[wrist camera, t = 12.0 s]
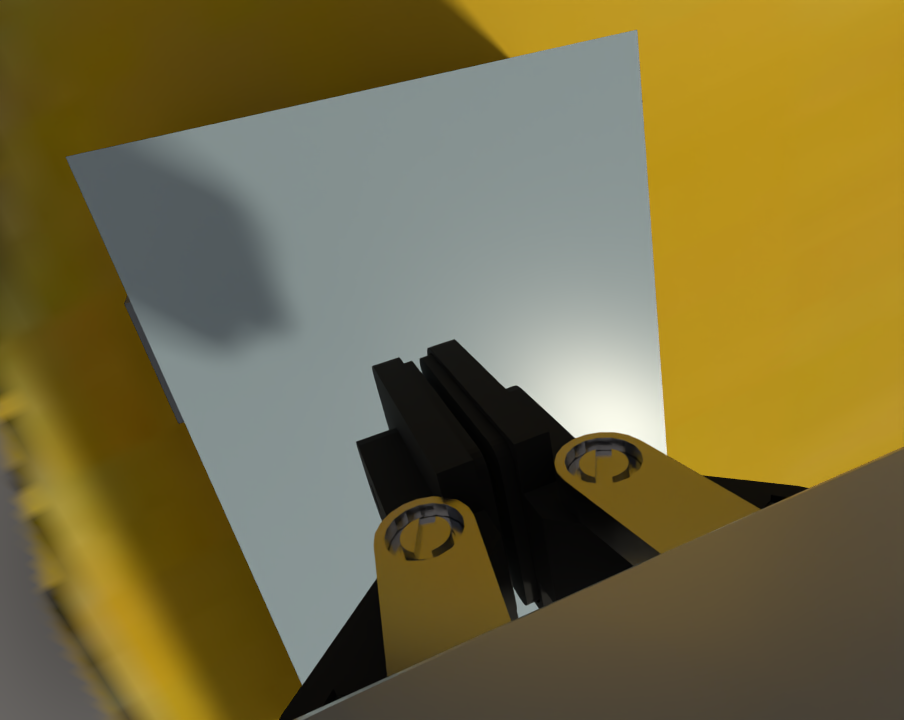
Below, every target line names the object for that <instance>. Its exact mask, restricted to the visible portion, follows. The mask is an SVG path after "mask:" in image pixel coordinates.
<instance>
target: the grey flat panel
mask: <svg viewBox="0 0 904 720" xmlns="http://www.w3.org/2000/svg"><path fill="white" fill-rule="evenodd" d="M66 159H67V161H68V163H69V165H70V168H71V170H72V172H73V174H74V177H75V179H76V181H77V183H78V185H79V188H80V190H81V192H82V194H83V197H84V199H85V201H86V203H87V206H88V208H89V210H90V212H91V214H92V217H93V219H94V221H95V223H96V226H97V228H98V230H99V232H100V235H101V237H102V239H103V241H104V244H105V246H106V248H107V250H108V252H109V255H110V257H111V259H112V261H113V264H114V266H115V268H116V270H117V273H118V275H119V277H120V279H121V282H122V284H123V286H124V288H125V290H126V293H127V298H126V301H125V303H124V304H125V306H126V308H127V311H128V313H129V315H130V317H131V319H132V322H133V324H134V326H135V328H136V331H137V333H138V335H139V337H140V339H141V342H142V344H143V346H144V348H145V350H146V353H147V355H148V357H149V359H150V361H151V364H152V366H153V368H154V370H155V372H156V375H157V377H158V379H159V381H160V384H161V386H162V388H163V390H164V392H165V395H166V397H167V399H168V401H169V403H170V406H171V408H172V410H173V412H174V414H175V417H176V419H177V421H178V423H182V422H185V424H186V427H187V429H188V431H189V433H190V436H191V438H192V440H193V442H194V445H195V447H196V449H197V451H198V454H199V456H200V458H201V460H202V462H203V465H204V467H205V469H206V471H207V474H208V476H209V478H210V480H211V483H212V485H213V487H214V489H215V492H216V494H217V496H218V498H219V500H220V503H221V505H222V507H223V509H224V512H225V514H226V516H227V518H228V521H229V523H230V525H231V527H232V529H233V532H234V534H235V536H236V538H237V541H238V543H239V545H240V547H241V550H242V552H243V554H244V556H245V559H246V561H247V563H248V565H249V567H250V570H251V572H252V574H253V576H254V579H255V581H256V583H257V585H258V588H259V590H260V592H261V594H262V597H263V599H264V601H265V603H266V605H267V608H268V610H269V612H270V614H271V617H272V619H273V621H274V623H275V626H276V628H277V630H278V632H279V634H280V637H281V639H282V641H283V643H284V646H285V648H286V650H287V652H288V655H289V657H290V659H291V661H292V664H293V666H294V668H295V670H296V672H297V675H298V677H299V679H300V681H301V684H302V685H303V684H304V682H305V681H306V679H307V678H308V676H309V675H310V673H311V672H312V671H313V669H314V668H315V666H316V665H317V663H318V662H319V661H320V659H321V658H322V656H323V655H324V653H325V652H326V650H327V649H328V648H329V646H330V645H331V643H332V642H333V640H334V639H335V638H336V636H337V635H338V633H339V632H340V630H341V629H342V627H343V626H344V625H345V623H346V622H347V620H348V619H349V617H350V616H351V614H352V613H353V612H354V610H355V609H356V607H357V606H358V604H359V603H360V602H361V600H362V599H363V597H364V596H365V594H366V593H367V591H368V590H369V589H370V587H371V586H372V584H373V583H374V581H375V580H376V579H377V574H376V565H375V555H374V546H373V544H374V536H375V532H376V530H377V529H378V527H379V525H380V523H381V522H382V520H381V518H380V515H379V512H378V509H377V507H376V504H375V501H374V498H373V495H372V492H371V489H370V486H369V483H368V480H367V477H366V474H365V471H364V468H363V464H362V461H361V458H360V455H359V452H358V448H357V445H356V441H359V440H362V439H365V438H367V437H370V436H373V435H376V434H379V433H382V432H384V431H387V430H389V428H388V425H387V421H386V418H385V414H384V411H383V407H382V404H381V400H380V397H379V393H378V390H377V386H376V383H375V379H374V375H373V371H372V366H373V365H377V364H380V363H383V362H386V361H389V360H392V359H395V358H398V357H399V358H400V359H401V360H402V361H403V363H406V362H409V361H413V362H414V364H415V365H416V366H417V368H418V369H419V370H420V371H421V367H420V358H422V357H425V356H427V348H429V347H432V346H435V345H438V344H441V343H444V342H447V341H450V340H453V339H455V340H456V341H457V342H458V343H459V344H460V345H461V346H463V347H464V348H465V349H466V350H467V351H468V352H469V353H470V354H471V355H472V356H473V357H474V358H475V359H476V360H477V361H478V362H479V363H480V364H481V365H482V366H483V367H484V368H485V369H486V370H487V371H488V372H489V373H490V374H491V375H492V376H493V377H494V378H495V379H496V380H497V381H498V382H499V383H500V384H501V385H502V386H503V387H504V388H505V389H506V388H509V387H512V386H516V385H517V386H519V387H520V388H522V389H523V390H524V391H525V392H526V393H527V394H528V395H529V396H530V397H531V398H533V399H534V400H535V401H536V402H537V403H538V404H539V405H540V406H541V407H542V408H543V409H544V410H545V411H547V412H548V413H549V414H550V415H551V416H552V417H553V418H554V419H555V420H556V421H557V422H558V423H560V424H561V425H562V426H563V427H564V428H565V429H566V430H567V431H568V432H569V433H570V434H571V435H573V436H574V437H575V438H578V437H580V436H583V435H586V434H592V433H598V432H616V433H621V434H627V435H630V436H632V437H635V438H637V439H639V440H641V441H643V442H645V443H647V444H648V445H650V446H652V447H653V448H655V449H657V450H659V451H660V452H662V453H664V454H666V455H667V449H666V435H665V421H664V407H663V392H662V378H661V364H660V349H659V335H658V321H657V307H656V292H655V278H654V264H653V250H652V235H651V221H650V207H649V193H648V178H647V164H646V150H645V136H644V121H643V107H642V93H641V79H640V64H639V50H638V36H637V30H634V31H630V32H625V33H621V34H616V35H612V36H607V37H603V38H598V39H594V40H589V41H585V42H580V43H576V44H571V45H567V46H562V47H558V48H553V49H549V50H544V51H540V52H535V53H531V54H526V55H522V56H517V57H513V58H508V59H504V60H499V61H495V62H490V63H486V64H481V65H477V66H472V67H468V68H463V69H459V70H454V71H450V72H445V73H441V74H436V75H432V76H427V77H423V78H418V79H414V80H409V81H405V82H400V83H396V84H391V85H387V86H382V87H378V88H373V89H369V90H364V91H360V92H355V93H351V94H346V95H342V96H337V97H333V98H328V99H324V100H319V101H315V102H310V103H306V104H301V105H297V106H292V107H288V108H283V109H279V110H274V111H270V112H265V113H261V114H256V115H252V116H247V117H243V118H238V119H234V120H229V121H225V122H220V123H216V124H211V125H207V126H202V127H198V128H193V129H189V130H184V131H180V132H175V133H171V134H166V135H162V136H157V137H153V138H148V139H144V140H139V141H135V142H130V143H126V144H121V145H117V146H112V147H108V148H103V149H99V150H94V151H90V152H85V153H81V154H76V155H72V156H67V157H66ZM421 373H422V371H421ZM513 589H514V588H513ZM514 594H515V599H516V604H517V613H518V618H519V617H522V616H524V615H526V614H528V613H531V612H533V611H535V610H537V609H539V608H538V607H537V605H536V604H535V602H534V603H531V604H529V605H527V606H525V605H524V604H523V602H522V601H521V599H520V598H519V596H518V594H517V593H516V591H515V590H514Z"/></svg>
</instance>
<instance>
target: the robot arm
mask: <svg viewBox="0 0 904 720" xmlns="http://www.w3.org/2000/svg"><path fill="white" fill-rule="evenodd" d="M420 367H421V371H422V373H421V371H420V370H419V369H418V368H417V366H416V365H415V364H414V362H413V361H409V362H406V363H403V361H402V360H401V359H400V358H399V357H398V358H395V359H392V360H389V361H386V362H383V363H380V364H377V365H373V366H372V371H373V375H374V379H375V383H376V386H377V390H378V393H379V397H380V400H381V404H382V407H383V411H384V414H385V418H386V421H387V425H388V428H389V430H387V431H384V432H382V433H379V434H376V435H373V436H370V437H367V438H365V439H362V440H359V441H356V445H357V448H358V452H359V455H360V458H361V461H362V464H363V468H364V471H365V474H366V477H367V480H368V483H369V486H370V489H371V492H372V495H373V498H374V501H375V504H376V507H377V509H378V512H379V515H380V518H381V520H382V522H381V523H380V525H379V527H378V529H377V530H376V532H375V536H374V544H373V546H374V555H375V565H376V574H377V579H376V580H375V581H374V583H373V584H372V586H371V587H370V589H369V590H368V591H367V593H366V594H365V596H364V597H363V599H362V600H361V602H360V603H359V604H358V606H357V607H356V609H355V610H354V612H353V613H352V614H351V616H350V617H349V619H348V620H347V622H346V623H345V625H344V626H343V627H342V629H341V630H340V632H339V633H338V635H337V636H336V638H335V639H334V640H333V642H332V643H331V645H330V646H329V648H328V649H327V650H326V652H325V653H324V655H323V656H322V658H321V659H320V661H319V662H318V663H317V665H316V666H315V668H314V669H313V671H312V672H311V673H310V675H309V676H308V678H307V679H306V681H305V682H304V684H303V685H302V686H301V688H300V689H299V691H298V692H297V694H296V695H295V696H294V698H293V699H292V701H291V702H290V704H289V705H288V707H287V708H286V709H285V711H284V712H283V714H282V715H281V717H280V719H279V720H904V447H902V448H900V449H897V450H895V451H893V452H890V453H888V454H886V455H884V456H881V457H879V458H877V459H875V460H872V461H870V462H868V463H865V464H863V465H861V466H859V467H856V468H854V469H852V470H850V471H847V472H845V473H843V474H840V475H838V476H836V477H834V478H831V479H829V480H827V481H824V482H822V483H820V484H818V485H815V486H813V487H811V488H805V487H800V486H793V485H784V484H775V483H766V482H757V481H748V480H739V479H730V478H721V477H712V476H703V475H700V474H699V473H697V472H695V471H693V470H692V469H690V468H688V467H687V466H685V465H683V464H681V463H680V462H678V461H676V460H674V459H673V458H671V457H669V456H667V455H666V454H664V453H662V452H660V451H659V450H657V449H655V448H653V447H652V446H650V445H648V444H647V443H645V442H643V441H641V440H639V439H637V438H635V437H632V436H630V435H627V434H621V433H616V432H598V433H592V434H586V435H583V436H580V437H578V438H575V437H574V436H573V435H571V434H570V433H569V432H568V431H567V430H566V429H565V428H564V427H563V426H562V425H561V424H560V423H558V422H557V421H556V420H555V419H554V418H553V417H552V416H551V415H550V414H549V413H548V412H547V411H545V410H544V409H543V408H542V407H541V406H540V405H539V404H538V403H537V402H536V401H535V400H534V399H533V398H531V397H530V396H529V395H528V394H527V393H526V392H525V391H524V390H523V389H522V388H520V387H519V386H517V385H516V386H512V387H509V388H506V389H505V388H504V387H503V386H502V385H501V384H500V383H499V382H498V381H497V380H496V379H495V378H494V377H493V376H492V375H491V374H490V373H489V372H488V371H487V370H486V369H485V368H484V367H483V366H482V365H481V364H480V363H479V362H478V361H477V360H476V359H475V358H474V357H473V356H472V355H471V354H470V353H469V352H468V351H467V350H466V349H465V348H464V347H463V346H461V345H460V344H459V343H458V342H457V341H456V340H455V339H453V340H450V341H447V342H444V343H441V344H438V345H435V346H432V347H429V348H427V356H425V357H422V358H420ZM513 588H514V589H513ZM514 590H515V591H516V593H517V594H518V596H519V598H520V599H521V601H522V602H523V604H524V605H525V606H527V605H529V604H531V603H534V602H535V604H536V605H537V607H538V608H539V609H537V610H535V611H533V612H531V613H528V614H526V615H524V616H522V617H519V618H518V613H517V604H516V599H515V594H514Z"/></svg>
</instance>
